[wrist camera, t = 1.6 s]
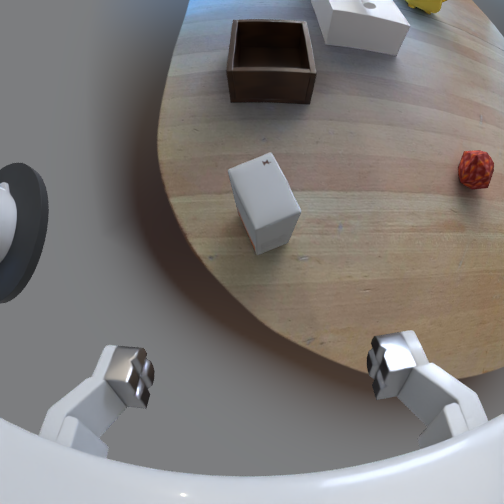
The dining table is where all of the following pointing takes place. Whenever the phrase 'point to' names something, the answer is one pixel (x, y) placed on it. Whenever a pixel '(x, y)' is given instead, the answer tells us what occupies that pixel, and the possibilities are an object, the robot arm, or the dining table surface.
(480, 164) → the decorative stone
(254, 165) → the cosmetic box
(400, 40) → the hammer relief block
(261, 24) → the holder
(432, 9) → the teapot
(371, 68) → the dining table surface
